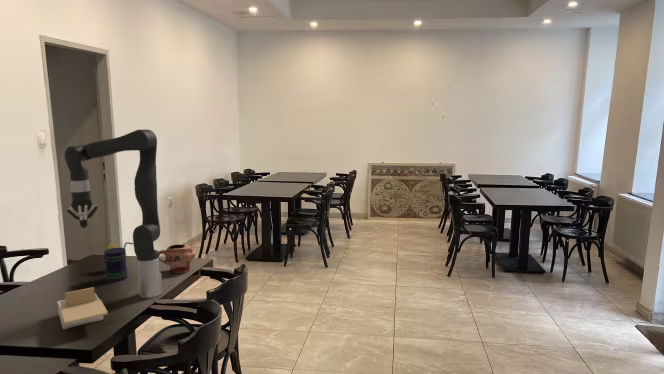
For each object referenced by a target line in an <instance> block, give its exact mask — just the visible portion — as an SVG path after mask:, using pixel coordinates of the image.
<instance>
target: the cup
mask: <svg viewBox="0 0 664 374" xmlns="http://www.w3.org/2000/svg"><path fill="white" fill-rule="evenodd" d="M127 245H134V244H133V242H128V241H126V242H125V243H124V246H123V248H125V252H126V247H127ZM112 248H117V247H116V245H115V244H114V243H110V244H108V245H107V249H106V250H108V249H112Z"/></svg>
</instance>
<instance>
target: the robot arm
mask: <svg viewBox="0 0 664 374" xmlns="http://www.w3.org/2000/svg"><path fill="white" fill-rule="evenodd" d="M157 148H158V138H157V136H156V134H155V132H154V131H153V130H151V129H147V128H146V129H136V130H134V131H130V132H129V133H126V134H124V135H121V136H117V137H113V138H108V139H103V140H97V141H92V142H89V143H88V144H83V145H71V146H68V147H66V148H65V151H64V160H65V162H66V166H67V168H68V171H69V177H70V196H71V203H70V207H67V208H65V209H66V212H67V213H68V214H69V215H70V216H71V217H73V218H74V219H75V220H79V226H80V228H82V229H86V228H87V227H88V219H91V218H92V217H93V215H94V214H95V213H96V211H97V210H98V208H99V206H98V205H95V204H93V202H92V196H91V186H90V184H91V183H90V181H89V171H88V167H85V166H83V164H82V162H85V161H89V160H92V159H97V158H103V157H107V156H111V155H115V154H117V153H121V152H128V151H129V152H130V151H138V152H139V163H138V168H137V170H136V173H135V176H134V183H133V184H134V195H135V199H136V200H137V203H138V205H139V207H140V209H141V213H142V215H141V216H142V220H141V221H142V223H141V224H140V225H138V226H136V227H135V228H134V229H133V232H132V243H133V244H132V245H133V251H134V255H135V256H136V263H137V265H136V266H137V278H138V279H137V280H138V293H139V294H138V295H139V297H140V298H144V299H151V298H155V297H158V296H159V295H162V294H163V281H162V273H161V269H160V268H161V267H160V260H159V258H160V256H159V251H158V250H157V249H155V245H154V242H156V241H157V240H158V239H159V237H160V235H161V224H160V219H159V211H158V182H157V181H158V180H157ZM90 209H91V210H90ZM74 211H75V212H76V213H77V214H78V215H76V213H74ZM88 211H89V213H88Z"/></svg>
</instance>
